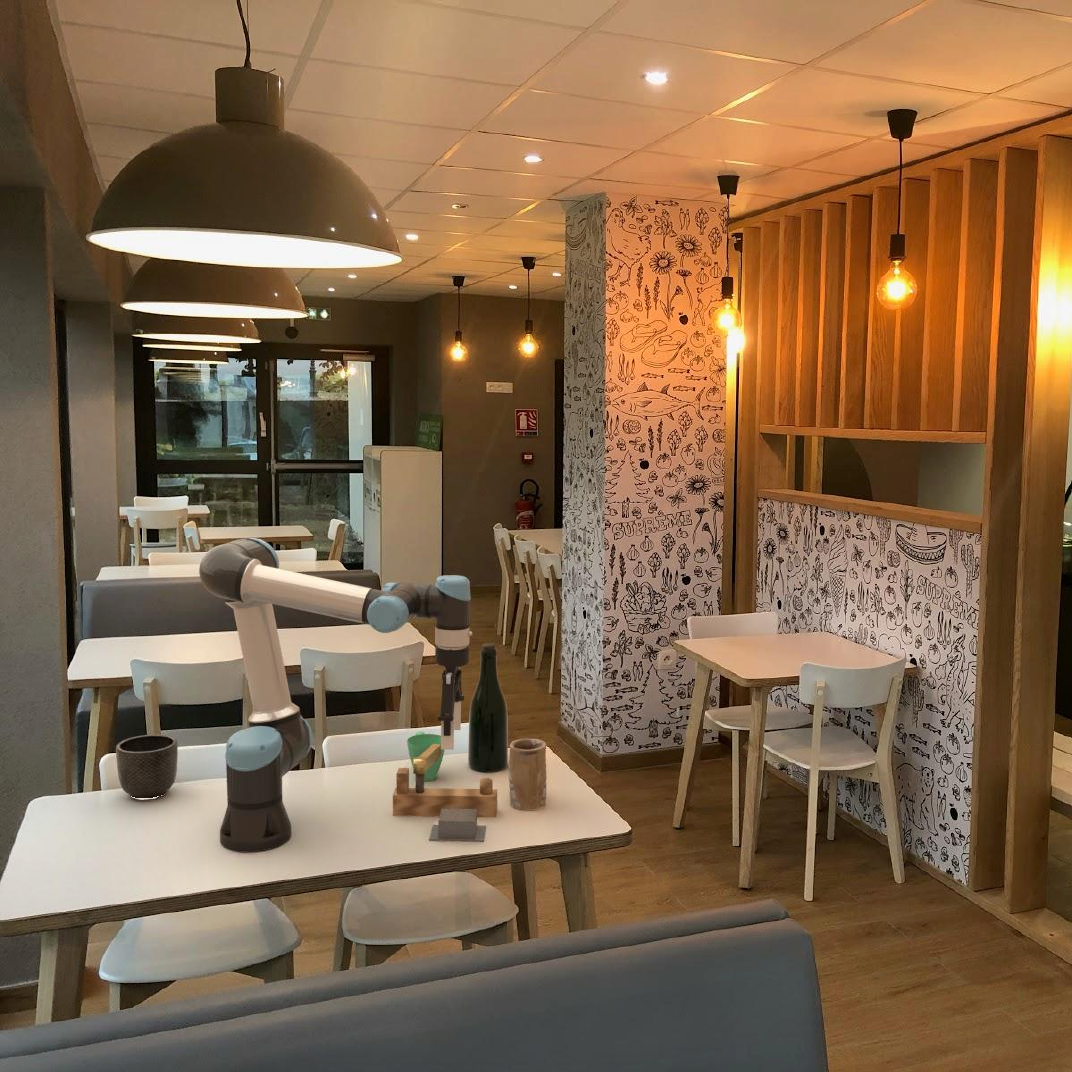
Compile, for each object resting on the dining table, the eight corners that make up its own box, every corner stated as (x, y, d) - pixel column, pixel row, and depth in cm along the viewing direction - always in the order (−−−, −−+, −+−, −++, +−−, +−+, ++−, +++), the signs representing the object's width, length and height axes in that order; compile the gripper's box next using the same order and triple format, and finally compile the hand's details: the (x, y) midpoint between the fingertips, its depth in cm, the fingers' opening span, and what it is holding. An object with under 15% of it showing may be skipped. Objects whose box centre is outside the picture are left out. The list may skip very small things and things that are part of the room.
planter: (143, 810, 241) (141, 756, 240) (105, 797, 249) (103, 745, 247) (191, 791, 253) (189, 740, 252) (153, 780, 261) (152, 730, 259)
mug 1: (449, 782, 262) (449, 744, 260) (411, 786, 259) (411, 747, 257) (436, 763, 275) (436, 726, 274) (400, 766, 272) (400, 730, 271)
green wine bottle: (467, 773, 268) (468, 648, 264) (468, 759, 279) (469, 639, 275) (507, 773, 269) (509, 648, 265) (507, 759, 279) (508, 639, 275)
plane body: (392, 815, 240) (392, 774, 239) (395, 807, 244) (395, 767, 243) (496, 817, 240) (496, 775, 238) (497, 809, 244) (497, 768, 243)
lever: (423, 775, 239) (423, 761, 239) (411, 774, 240) (411, 760, 239) (442, 756, 252) (442, 743, 252) (431, 755, 253) (431, 742, 252)
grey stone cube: (438, 838, 227) (438, 820, 226) (441, 825, 234) (441, 808, 233) (474, 839, 226) (474, 821, 226) (477, 826, 233) (477, 809, 233)
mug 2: (520, 813, 242) (521, 751, 240) (494, 795, 253) (494, 736, 251) (553, 806, 247) (554, 745, 245) (525, 789, 257) (526, 730, 256)
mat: (428, 840, 226) (428, 839, 226) (433, 826, 234) (433, 824, 234) (483, 841, 226) (483, 840, 226) (486, 827, 234) (486, 825, 234)
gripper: (463, 660, 215) (461, 758, 218) (474, 634, 240) (473, 722, 243) (427, 659, 216) (426, 757, 218) (442, 633, 240) (441, 721, 243)
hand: (450, 739), depth 231 cm, fingers open, 13 cm apart
